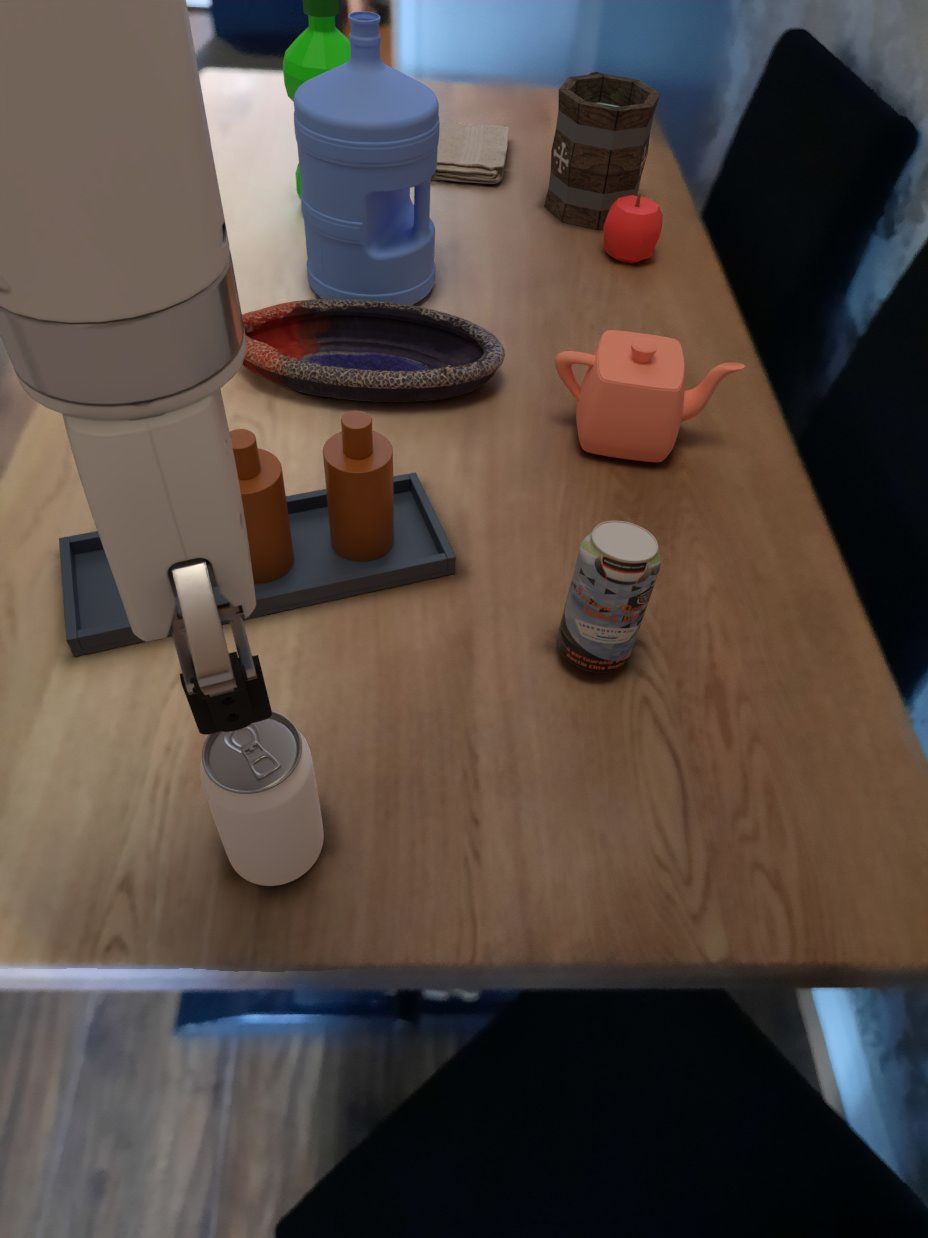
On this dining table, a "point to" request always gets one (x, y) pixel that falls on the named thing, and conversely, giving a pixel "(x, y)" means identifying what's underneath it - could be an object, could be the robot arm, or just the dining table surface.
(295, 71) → the plastic bottle
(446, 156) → the washcloth
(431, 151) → the water jug
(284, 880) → the can
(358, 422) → the amber bottle
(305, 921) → the dining table surface
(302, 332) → the dish
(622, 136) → the mug
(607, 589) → the beverage can
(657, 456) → the teapot
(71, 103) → the robot arm
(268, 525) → the amber bottle
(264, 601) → the tray
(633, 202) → the apple
